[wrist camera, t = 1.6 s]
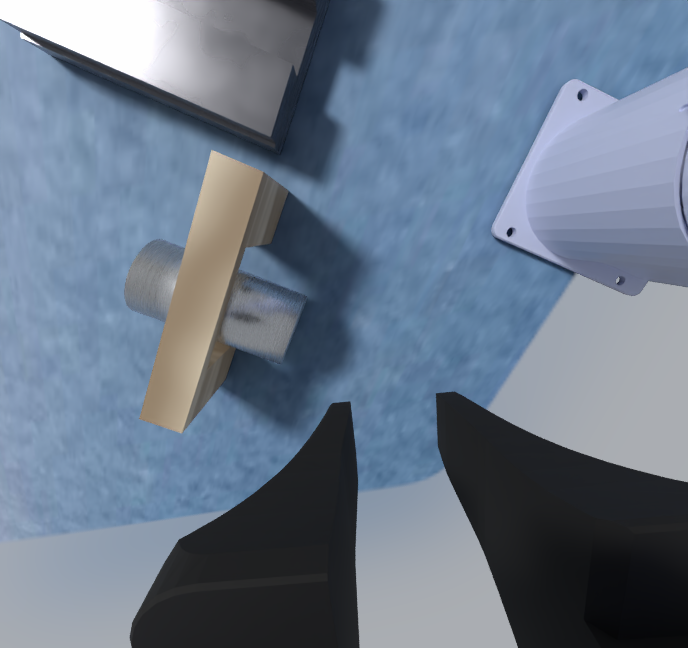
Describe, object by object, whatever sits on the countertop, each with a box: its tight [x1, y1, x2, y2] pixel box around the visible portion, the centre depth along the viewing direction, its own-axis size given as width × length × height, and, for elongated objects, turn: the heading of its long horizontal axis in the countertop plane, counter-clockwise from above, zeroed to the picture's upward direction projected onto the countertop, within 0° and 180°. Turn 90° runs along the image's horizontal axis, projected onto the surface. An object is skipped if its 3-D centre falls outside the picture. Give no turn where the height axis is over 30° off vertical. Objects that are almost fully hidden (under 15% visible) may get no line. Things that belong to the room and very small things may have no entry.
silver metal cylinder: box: [124, 239, 307, 365], centre depth 18 cm, size 8×4×4 cm, turn 68°
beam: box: [139, 150, 288, 433], centre depth 17 cm, size 2×12×6 cm, turn 158°
